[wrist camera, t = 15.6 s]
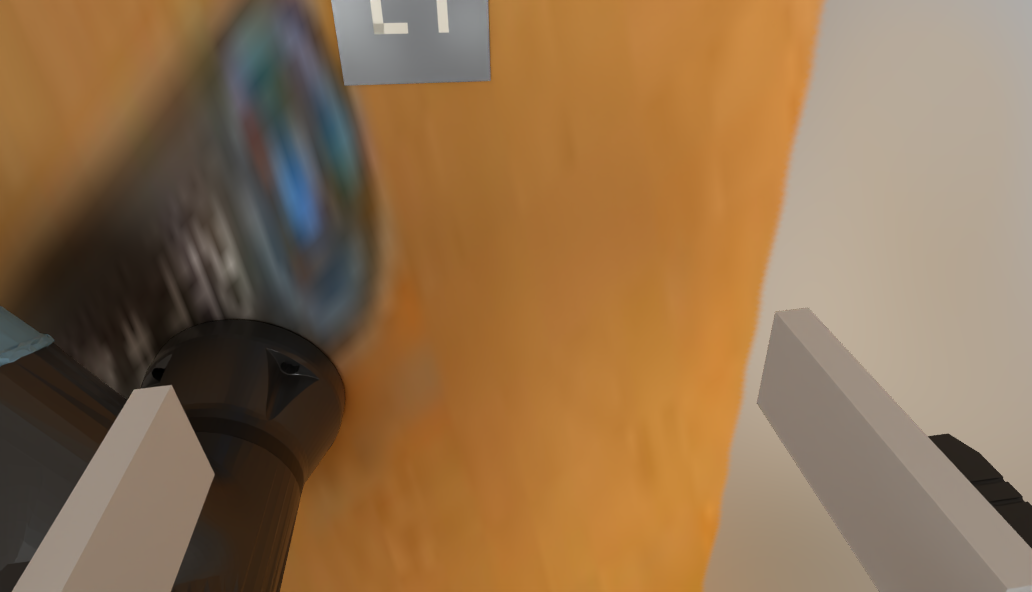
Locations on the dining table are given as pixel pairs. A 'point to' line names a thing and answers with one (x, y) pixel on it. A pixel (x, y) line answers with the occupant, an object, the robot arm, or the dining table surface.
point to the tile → (412, 41)
